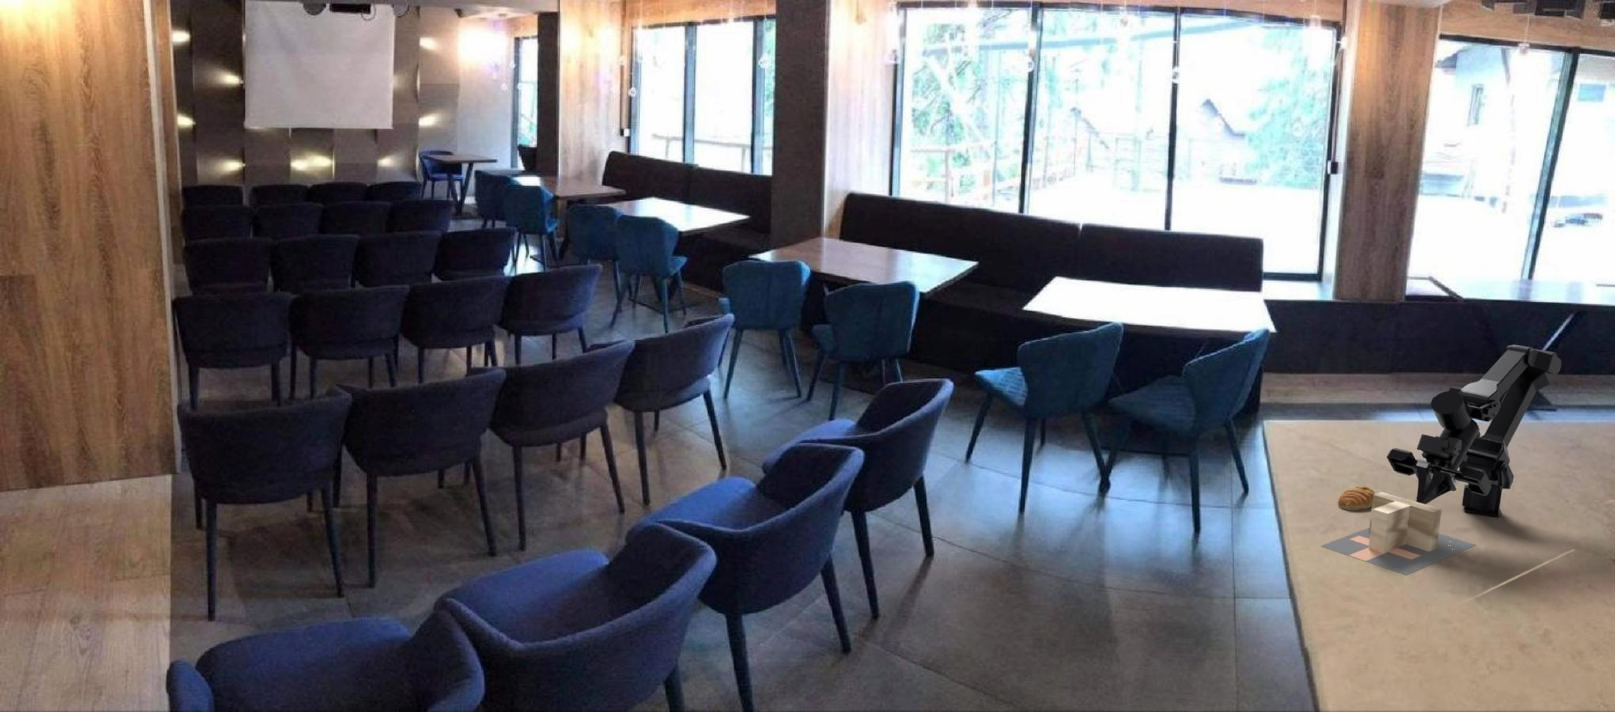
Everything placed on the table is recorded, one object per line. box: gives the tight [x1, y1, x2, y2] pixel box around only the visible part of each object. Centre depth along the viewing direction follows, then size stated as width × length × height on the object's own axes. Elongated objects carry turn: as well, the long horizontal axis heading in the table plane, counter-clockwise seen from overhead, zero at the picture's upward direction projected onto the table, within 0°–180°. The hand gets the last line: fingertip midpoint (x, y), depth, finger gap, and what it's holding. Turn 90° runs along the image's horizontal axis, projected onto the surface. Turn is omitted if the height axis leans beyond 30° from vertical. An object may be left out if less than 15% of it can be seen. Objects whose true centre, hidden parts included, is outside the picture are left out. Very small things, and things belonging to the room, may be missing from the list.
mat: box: [1320, 526, 1476, 576], centre depth 227 cm, size 26×17×1 cm, turn 125°
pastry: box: [1337, 485, 1376, 511], centre depth 249 cm, size 9×7×4 cm
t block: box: [1368, 491, 1443, 553], centre depth 226 cm, size 11×12×8 cm
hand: (1418, 505), depth 231 cm, fingers closed
